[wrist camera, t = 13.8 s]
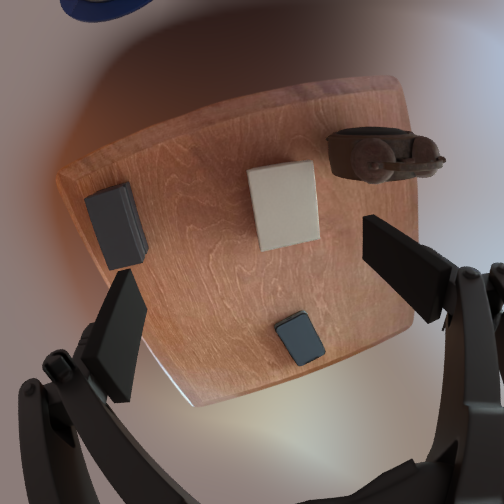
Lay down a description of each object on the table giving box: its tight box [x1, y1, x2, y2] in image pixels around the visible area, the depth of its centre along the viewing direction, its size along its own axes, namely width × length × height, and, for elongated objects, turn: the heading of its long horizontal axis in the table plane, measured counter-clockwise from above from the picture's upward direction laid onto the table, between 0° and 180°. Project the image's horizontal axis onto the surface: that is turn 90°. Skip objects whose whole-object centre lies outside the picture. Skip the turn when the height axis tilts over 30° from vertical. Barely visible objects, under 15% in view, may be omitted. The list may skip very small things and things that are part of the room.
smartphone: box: [274, 311, 325, 366], centre depth 60 cm, size 8×2×15 cm
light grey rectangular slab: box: [246, 160, 320, 252], centre depth 43 cm, size 13×10×2 cm
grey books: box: [84, 182, 149, 270], centre depth 41 cm, size 12×6×6 cm, turn 9°
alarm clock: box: [326, 127, 446, 184], centre depth 36 cm, size 14×7×20 cm, turn 100°
